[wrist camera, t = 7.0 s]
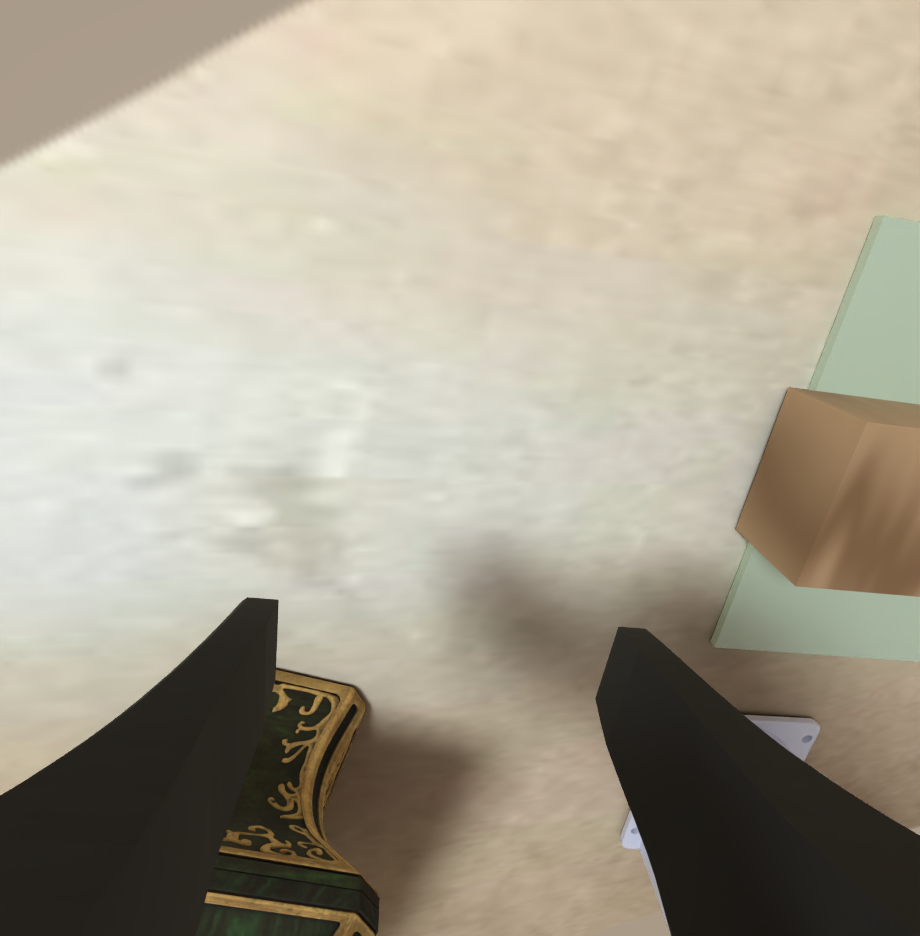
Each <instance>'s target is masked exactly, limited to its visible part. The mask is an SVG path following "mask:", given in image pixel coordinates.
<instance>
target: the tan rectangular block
mask: <svg viewBox="0 0 920 936" xmlns="http://www.w3.org/2000/svg"><path fill="white" fill-rule="evenodd" d="M736 530H737V531H738V532H739V533H740V534H741V535H742V536H743V537H744V538H745V539H746V540H747V541H748V542H749V543H750V544H751V545H753V546H754V547H755V548H756V549H757V550H758V551H759V552H760V553H761V554H762V555H763V556H764V557H765V558H766V559H767V560H768V561H769V562H770V563H771V564H772V565H773V566H775V567H776V568H777V569H778V570H779V571H780V572H781V573H782V574H783V575H784V576H785V577H786V578H787V579H788V580H789V581H790V582H791V583H792V584H793V585H794V586H797V587H809V588H820V589H832V590H844V591H856V592H867V593H879V594H891V595H903V596H914V597H920V404H912V403H905V402H897V401H889V400H882V399H874V398H867V397H859V396H852V395H844V394H836V393H829V392H821V391H814V390H806V389H799V388H791V387H789V388H788V391H787V393H786V396H785V399H784V401H783V404H782V407H781V409H780V412H779V415H778V417H777V420H776V423H775V425H774V428H773V431H772V433H771V436H770V439H769V441H768V444H767V447H766V449H765V452H764V455H763V457H762V460H761V463H760V465H759V468H758V471H757V473H756V476H755V479H754V481H753V484H752V487H751V489H750V492H749V495H748V497H747V500H746V503H745V505H744V508H743V511H742V513H741V516H740V519H739V521H738V524H737V527H736Z"/></svg>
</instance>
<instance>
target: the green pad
mask: <svg viewBox="0 0 920 936" xmlns="http://www.w3.org/2000/svg"><path fill="white" fill-rule="evenodd" d="M808 390H814V391H821V392H829V393H836V394H844V395H852V396H859V397H867V398H874V399H882V400H889V401H897V402H905V403H912V404H920V222H916V221H911V220H905V219H899V218H894V217H888V216H875V219H874V221H873V224H872V227H871V229H870V232H869V234H868V237H867V240H866V242H865V245H864V247H863V250H862V252H861V255H860V258H859V260H858V263H857V265H856V268H855V270H854V273H853V276H852V278H851V281H850V283H849V286H848V288H847V291H846V294H845V296H844V299H843V301H842V304H841V306H840V309H839V312H838V314H837V317H836V319H835V322H834V324H833V327H832V330H831V332H830V335H829V337H828V340H827V342H826V345H825V348H824V350H823V353H822V355H821V358H820V360H819V363H818V366H817V368H816V371H815V373H814V376H813V378H812V381H811V384H810V386H809V389H808ZM710 642H711V643H712V645H713V646H714V648H727V649H742V650H756V651H770V652H785V653H799V654H813V655H828V656H842V657H857V658H871V659H885V660H900V661H914V662H920V597H914V596H903V595H891V594H879V593H867V592H856V591H844V590H832V589H820V588H809V587H797V586H794V585H793V584H792V583H791V582H790V581H789V580H788V579H787V578H786V577H785V576H784V575H783V574H782V573H781V572H780V571H779V570H778V569H777V568H776V567H775V566H773V565H772V564H771V563H770V562H769V561H768V560H767V559H766V558H765V557H764V556H763V555H762V554H761V553H760V552H759V551H758V550H757V549H756V548H755V547H754V546H753V545H751V544H750V543H748V546H747V548H746V551H745V553H744V556H743V559H742V561H741V564H740V566H739V569H738V571H737V574H736V577H735V579H734V582H733V584H732V587H731V589H730V592H729V595H728V597H727V600H726V602H725V605H724V608H723V610H722V613H721V615H720V618H719V620H718V623H717V626H716V628H715V631H714V633H713V636H712V638H711V641H710Z"/></svg>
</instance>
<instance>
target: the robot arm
mask: <svg viewBox="0 0 920 936" xmlns="http://www.w3.org/2000/svg"><path fill="white" fill-rule="evenodd" d="M277 625H278V600H273V599H261V598H248V597H247V598H246V599H245V600H243V601H242V602H241V603H240V604H239V605H238V606H237V607H236V608H235V609H234V610H233V611H232V613H231V614H230V615H229V616H228V617H227V618H226V619H225V620H224V621H223V622H222V623H221V624H220V625H219V626H218V627H217V628H216V629H215V630H214V631H213V632H212V633H211V634H210V635H209V636H208V637H207V638H206V639H205V640H204V641H203V642H202V643H201V644H200V645H199V646H198V647H197V648H196V649H195V650H194V651H193V652H192V653H191V654H190V655H189V656H188V657H187V658H186V659H185V660H184V661H183V662H181V663H180V664H179V665H178V666H177V667H176V668H175V669H174V670H173V671H172V672H171V673H169V674H168V675H167V676H166V677H165V678H164V679H162V680H161V681H160V682H159V683H158V684H157V685H156V686H154V687H153V688H152V689H151V690H150V691H149V692H147V693H146V694H145V695H144V696H143V697H142V698H140V699H139V700H138V701H137V702H136V703H134V704H133V705H132V706H131V707H129V708H128V709H127V710H126V711H124V712H123V713H122V714H121V715H119V716H118V717H117V718H115V719H114V720H113V721H111V722H110V723H109V724H107V725H106V726H105V727H103V728H102V729H101V730H99V731H98V732H97V733H95V734H94V735H92V736H91V737H90V738H88V739H87V740H86V741H84V742H83V743H81V744H80V745H78V746H77V747H75V748H74V749H72V750H71V751H70V752H68V753H67V754H65V755H64V756H62V757H61V758H59V759H58V760H56V761H55V762H53V763H52V764H50V765H49V766H47V767H45V768H44V769H42V770H41V771H39V772H38V773H36V774H35V775H33V776H32V777H30V778H28V779H27V780H25V781H24V782H22V783H21V784H19V785H17V786H16V787H14V788H12V789H11V790H9V791H7V792H5V793H4V794H2V795H0V936H196V932H197V929H198V925H199V921H200V917H201V914H202V910H203V906H204V903H205V899H206V895H207V891H208V888H209V884H210V880H211V877H212V873H213V869H214V866H215V863H216V860H217V857H218V854H219V850H220V847H221V844H222V841H223V838H224V836H225V833H226V830H227V827H228V825H229V822H230V819H231V816H232V814H233V811H234V808H235V806H236V803H237V800H238V797H239V795H240V792H241V789H242V786H243V784H244V781H245V778H246V775H247V773H248V770H249V767H250V764H251V762H252V759H253V756H254V753H255V750H256V748H257V745H258V742H259V739H260V736H261V734H262V731H263V728H264V724H265V720H266V716H267V712H268V708H269V704H270V700H271V696H272V691H273V687H274V683H275V677H276V651H277ZM596 703H597V707H598V712H599V716H600V721H601V725H602V729H603V733H604V737H605V741H606V745H607V748H608V751H609V753H610V756H611V759H612V762H613V764H614V767H615V770H616V773H617V775H618V778H619V781H620V783H621V786H622V789H623V791H624V794H625V797H626V799H627V802H628V805H629V807H630V811H629V814H628V817H627V819H626V822H625V825H624V827H623V830H622V833H621V835H620V841H621V844H622V846H623V847H625V848H627V849H640V852H641V855H642V858H643V861H644V863H645V866H646V869H647V872H648V874H649V877H650V880H651V883H652V886H653V888H654V891H655V894H656V897H657V900H658V902H659V905H660V908H661V911H662V913H663V916H664V919H665V922H666V925H667V927H668V930H669V933H670V935H671V936H920V836H919V835H918V834H916V833H914V832H913V831H911V830H909V829H907V828H906V827H904V826H902V825H901V824H899V823H897V822H895V821H894V820H892V819H890V818H889V817H887V816H885V815H884V814H882V813H881V812H879V811H877V810H876V809H874V808H873V807H871V806H869V805H868V804H866V803H865V802H863V801H862V800H860V799H858V798H857V797H855V796H854V795H852V794H850V793H849V792H847V791H846V790H844V789H843V788H841V787H840V786H838V785H837V784H835V783H834V782H832V781H831V780H829V779H828V778H826V777H825V776H823V775H822V774H821V773H819V772H818V771H816V770H815V769H814V768H812V767H811V766H809V765H808V764H807V763H805V762H804V761H805V759H806V757H807V755H808V753H809V751H810V749H811V747H812V745H813V743H814V741H815V739H816V737H817V736H818V734H819V731H820V726H819V724H818V723H817V722H816V721H815V720H814V719H811V718H794V717H776V716H757V715H743V714H742V713H741V712H740V711H738V710H737V709H736V708H735V707H734V706H732V705H731V704H730V703H729V702H728V701H727V700H725V699H724V698H723V697H722V696H721V695H720V694H719V693H717V692H716V691H715V690H714V689H713V688H712V687H711V686H709V685H708V684H707V683H706V682H705V681H704V680H703V679H702V678H701V677H699V676H698V675H697V674H696V673H695V672H694V671H693V670H692V669H691V668H689V667H688V666H687V665H686V664H685V663H684V662H683V661H682V660H681V659H680V658H678V657H677V656H676V655H675V654H674V653H673V652H672V651H671V650H670V649H668V648H667V647H666V646H665V645H664V644H663V643H662V642H660V641H659V640H658V639H657V638H656V637H655V636H653V635H652V634H651V633H650V632H649V631H647V630H646V629H641V628H628V627H618V630H617V633H616V636H615V639H614V643H613V646H612V649H611V652H610V655H609V658H608V661H607V664H606V667H605V671H604V674H603V677H602V680H601V683H600V686H599V689H598V692H597V696H596Z"/></svg>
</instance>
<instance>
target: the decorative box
mask: <svg viewBox="0 0 920 936" xmlns="http://www.w3.org/2000/svg"><path fill="white" fill-rule="evenodd" d="M364 712H365V703H364V701H363V700H362V699H361V697H360V696H359V694H358V693H357V692H356V690H355V689H354V688H353V687H350V686H345V685H341V684H336V683H332V682H328V681H323V680H319V679H314V678H310V677H306V676H301V675H297V674H293V673H288V672H284V671H279V670H276V677H275V683H274V687H273V691H272V696H271V700H270V704H269V708H268V712H267V716H266V720H265V724H264V728H263V731H262V734H261V736H260V739H259V742H258V745H257V748H256V750H255V753H254V756H253V759H252V762H251V764H250V767H249V770H248V773H247V775H246V778H245V781H244V784H243V786H242V789H241V792H240V795H239V797H238V800H237V803H236V806H235V808H234V811H233V814H232V816H231V819H230V822H229V825H228V827H227V830H226V833H225V836H224V838H223V841H222V844H221V847H220V850H219V854H218V857H217V860H216V863H215V866H214V869H213V873H212V877H211V880H210V884H209V888H208V891H207V895H206V899H205V903H204V906H203V910H202V914H201V917H200V921H199V925H198V929H197V932H196V936H376V934H377V932H378V920H379V897H378V894H377V892H376V891H375V889H374V888H373V887H372V886H371V885H370V884H369V883H368V881H367V880H366V879H365V878H364V877H363V876H362V875H361V874H360V873H359V872H358V871H357V870H356V869H355V868H354V867H353V866H351V865H350V864H349V863H348V862H347V861H346V860H345V859H344V858H343V857H341V856H340V855H339V854H338V853H337V852H336V851H335V850H334V849H332V848H331V847H330V846H329V844H328V841H327V839H326V836H325V831H324V826H323V812H324V810H325V807H326V805H327V803H328V800H329V798H330V795H331V793H332V790H333V788H334V785H335V783H336V781H337V778H338V776H339V773H340V771H341V768H342V766H343V764H344V761H345V759H346V756H347V754H348V751H349V749H350V747H351V744H352V742H353V739H354V737H355V734H356V732H357V729H358V727H359V725H360V722H361V720H362V717H363V715H364Z"/></svg>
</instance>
